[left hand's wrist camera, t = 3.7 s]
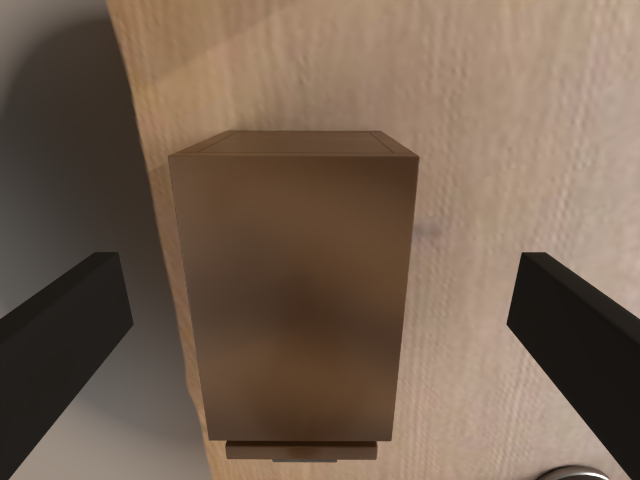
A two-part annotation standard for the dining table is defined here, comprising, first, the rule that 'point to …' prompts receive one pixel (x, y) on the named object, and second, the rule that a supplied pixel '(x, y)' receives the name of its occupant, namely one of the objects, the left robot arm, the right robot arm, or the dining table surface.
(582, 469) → the right robot arm
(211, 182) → the cabinet
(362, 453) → the drawer
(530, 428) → the dining table surface
